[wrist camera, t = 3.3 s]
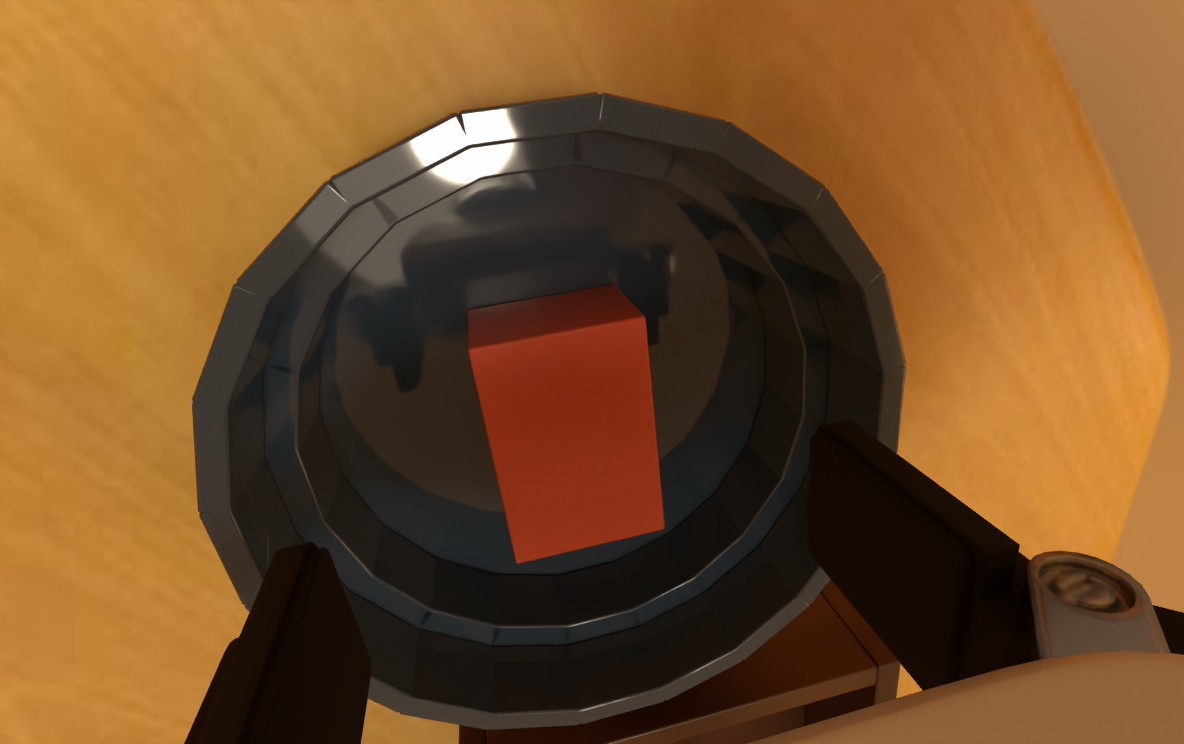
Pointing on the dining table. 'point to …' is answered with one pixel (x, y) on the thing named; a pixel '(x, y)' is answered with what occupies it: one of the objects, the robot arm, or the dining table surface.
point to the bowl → (454, 419)
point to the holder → (751, 689)
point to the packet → (568, 418)
